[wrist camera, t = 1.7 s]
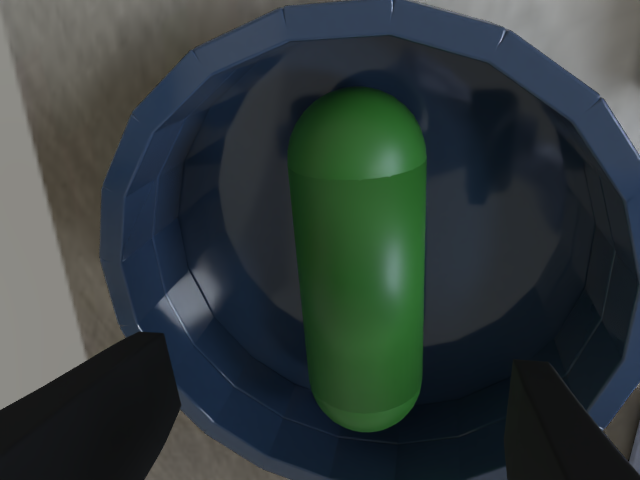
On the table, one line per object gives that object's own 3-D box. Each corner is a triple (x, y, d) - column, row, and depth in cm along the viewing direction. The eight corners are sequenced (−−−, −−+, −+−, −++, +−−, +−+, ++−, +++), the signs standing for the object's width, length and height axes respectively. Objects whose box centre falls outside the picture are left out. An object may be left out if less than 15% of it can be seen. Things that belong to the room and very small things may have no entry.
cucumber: (423, 383, 18) (419, 466, 15) (325, 374, 19) (301, 451, 15) (429, 74, 13) (426, 96, 10) (300, 80, 14) (260, 102, 11)
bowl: (576, 429, 18) (610, 534, 14) (205, 391, 21) (158, 469, 18) (663, -23, 12) (758, -34, 8) (126, 20, 15) (31, 26, 12)
